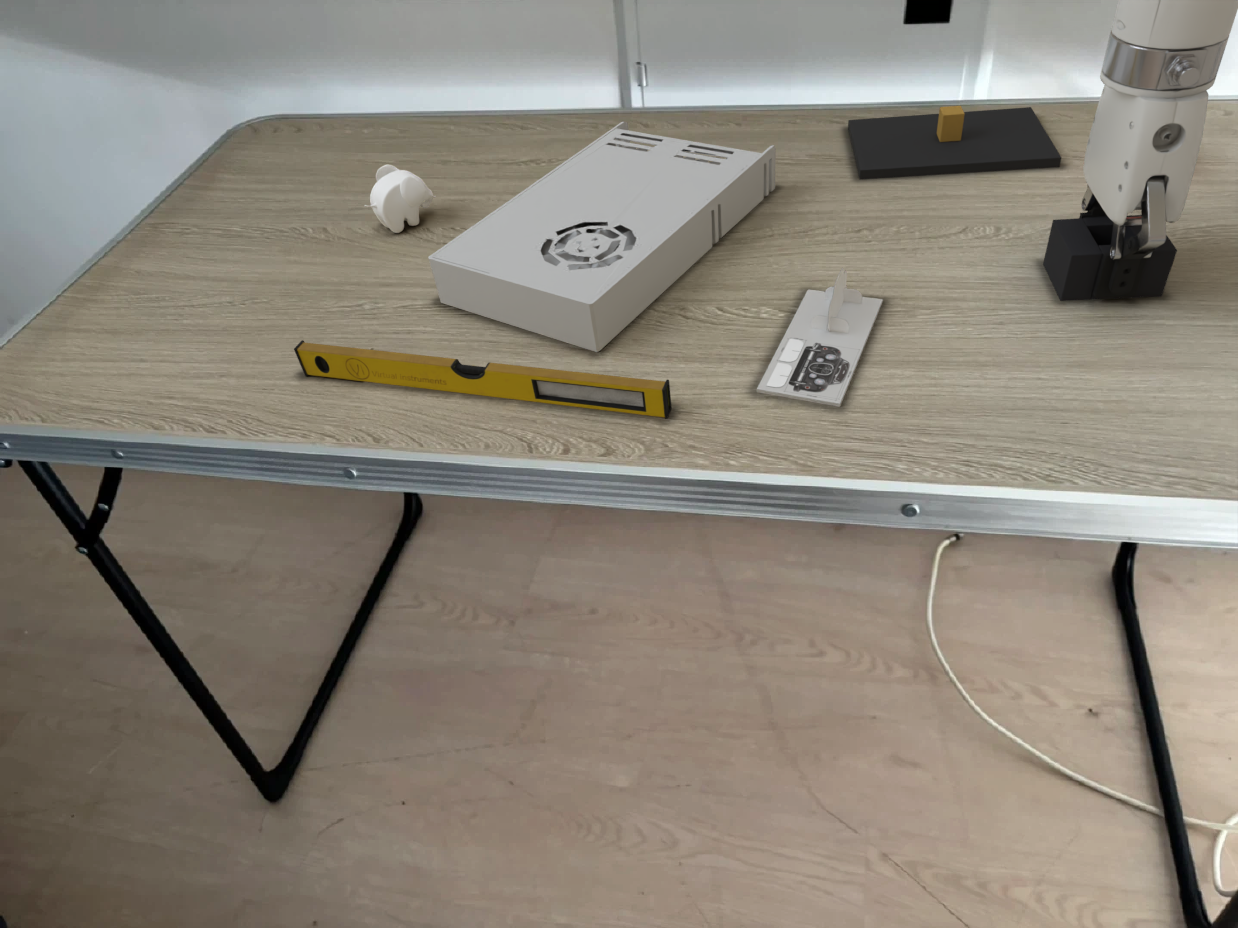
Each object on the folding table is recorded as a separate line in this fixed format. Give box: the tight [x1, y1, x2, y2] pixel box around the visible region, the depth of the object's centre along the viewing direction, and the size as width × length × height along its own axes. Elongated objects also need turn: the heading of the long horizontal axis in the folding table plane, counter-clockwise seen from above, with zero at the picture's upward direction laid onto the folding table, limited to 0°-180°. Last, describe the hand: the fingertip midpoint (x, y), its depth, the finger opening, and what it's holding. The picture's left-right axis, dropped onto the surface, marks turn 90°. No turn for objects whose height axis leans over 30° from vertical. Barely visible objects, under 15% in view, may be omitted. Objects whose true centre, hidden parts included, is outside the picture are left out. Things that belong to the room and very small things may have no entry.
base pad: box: [847, 105, 1062, 181], centre depth 100 cm, size 20×13×4 cm, turn 85°
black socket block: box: [1042, 214, 1178, 302], centre depth 78 cm, size 8×6×4 cm
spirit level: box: [293, 339, 673, 420], centre depth 76 cm, size 33×1×3 cm, turn 72°
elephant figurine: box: [364, 163, 437, 234], centre depth 100 cm, size 7×8×6 cm
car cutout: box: [755, 267, 884, 408], centre depth 75 cm, size 15×7×4 cm, turn 156°
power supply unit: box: [427, 121, 777, 353], centre depth 92 cm, size 19×33×5 cm, turn 146°
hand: (1102, 273), depth 79 cm, fingers closed on black socket block, 6 cm apart
